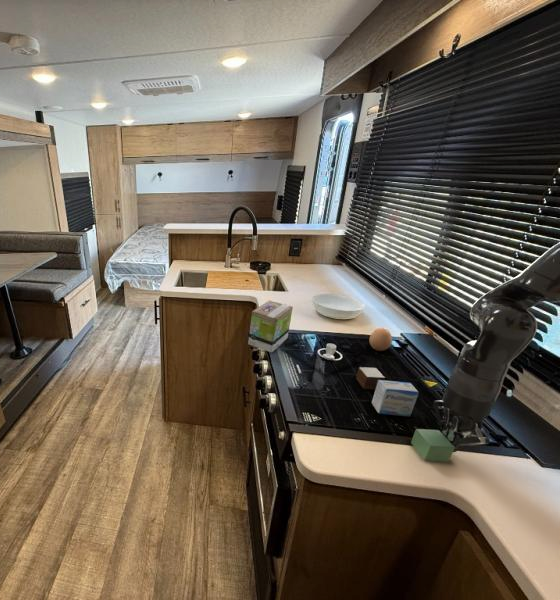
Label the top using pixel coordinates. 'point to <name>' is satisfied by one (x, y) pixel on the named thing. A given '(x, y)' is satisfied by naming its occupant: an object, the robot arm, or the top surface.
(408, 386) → the medicine box
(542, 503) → the top surface
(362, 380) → the walnut block
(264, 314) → the tea box
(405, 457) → the top surface
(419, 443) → the sage block
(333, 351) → the white ring with knob
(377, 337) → the egg
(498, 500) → the top surface
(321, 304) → the serving bowl
